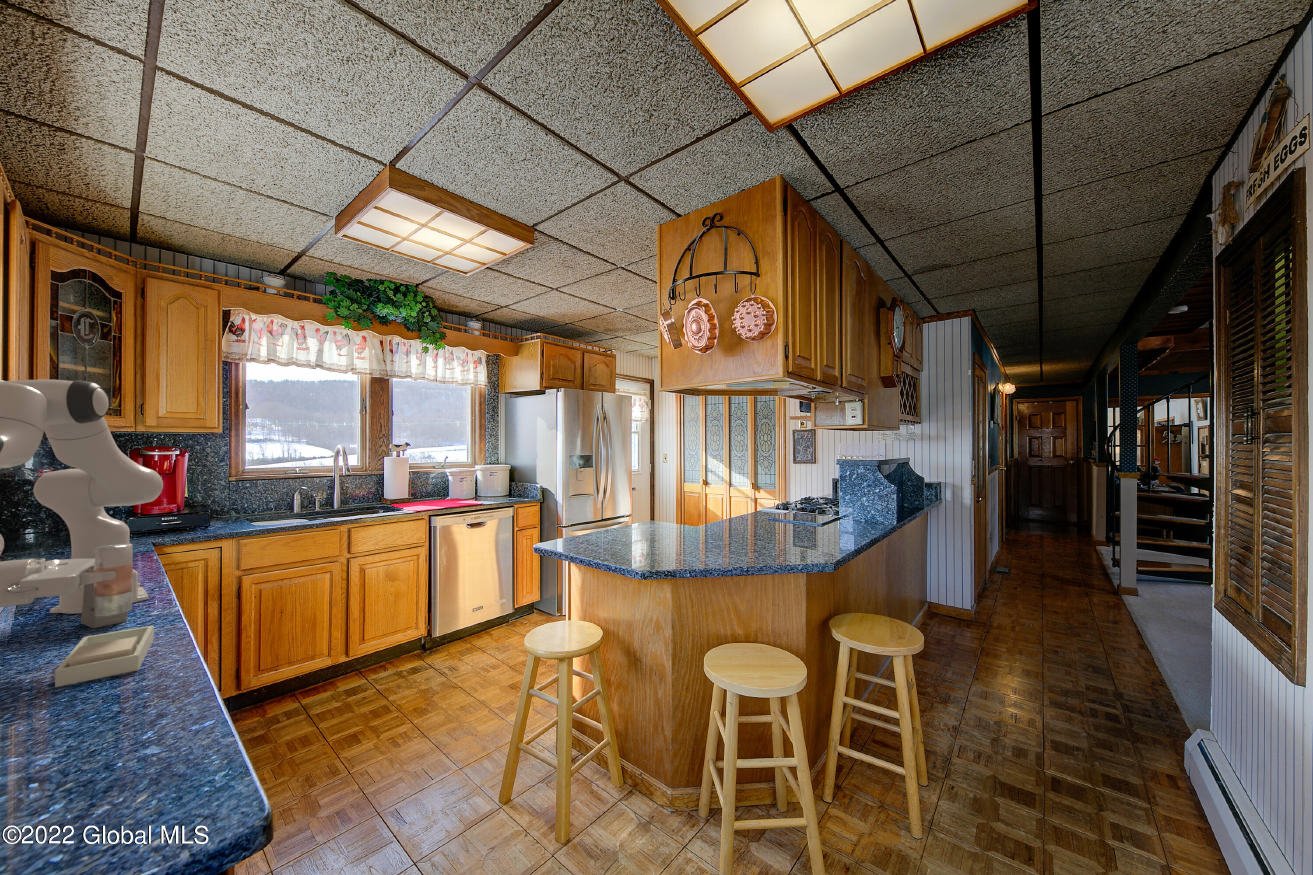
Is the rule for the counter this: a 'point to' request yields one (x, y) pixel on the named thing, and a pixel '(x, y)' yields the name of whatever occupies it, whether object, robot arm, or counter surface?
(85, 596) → the skincare box
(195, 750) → the counter surface
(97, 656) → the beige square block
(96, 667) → the tote
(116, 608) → the steel can
